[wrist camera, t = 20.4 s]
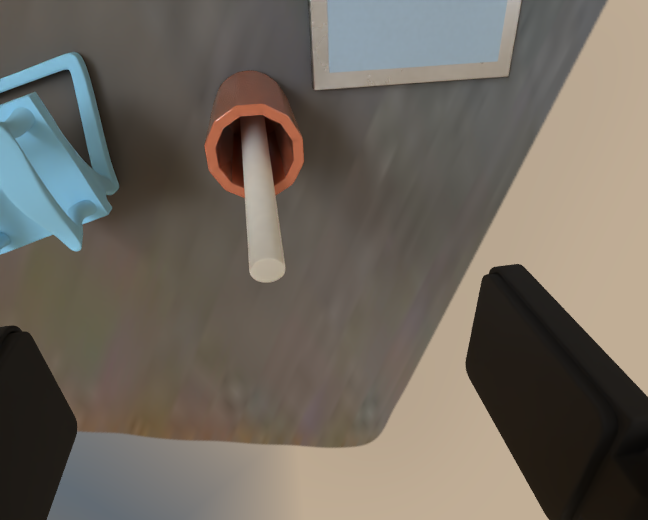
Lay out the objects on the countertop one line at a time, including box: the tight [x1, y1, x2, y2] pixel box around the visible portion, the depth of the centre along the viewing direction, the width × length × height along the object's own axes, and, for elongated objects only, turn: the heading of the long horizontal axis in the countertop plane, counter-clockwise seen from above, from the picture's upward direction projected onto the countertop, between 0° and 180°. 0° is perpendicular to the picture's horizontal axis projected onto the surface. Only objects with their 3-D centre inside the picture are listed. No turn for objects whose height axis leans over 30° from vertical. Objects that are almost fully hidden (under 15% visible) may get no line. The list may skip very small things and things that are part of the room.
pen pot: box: [205, 71, 304, 198], centre depth 25 cm, size 5×5×9 cm
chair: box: [0, 52, 119, 254], centre depth 23 cm, size 8×8×12 cm
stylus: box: [240, 115, 285, 282], centre depth 22 cm, size 1×1×15 cm
